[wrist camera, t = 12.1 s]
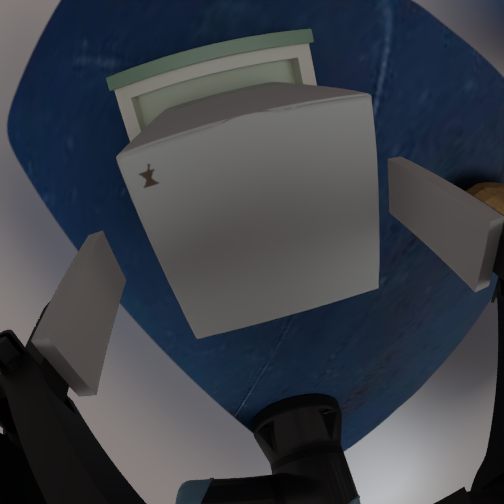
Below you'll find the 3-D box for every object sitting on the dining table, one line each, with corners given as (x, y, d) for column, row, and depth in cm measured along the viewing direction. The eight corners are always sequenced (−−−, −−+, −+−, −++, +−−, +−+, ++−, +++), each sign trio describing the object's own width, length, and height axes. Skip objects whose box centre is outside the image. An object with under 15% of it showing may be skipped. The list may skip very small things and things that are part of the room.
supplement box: (194, 210, 26) (190, 346, 14) (162, 108, 22) (104, 153, 9) (299, 183, 26) (382, 294, 14) (279, 79, 22) (376, 89, 9)
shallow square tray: (323, 200, 28) (339, 219, 25) (173, 238, 28) (170, 262, 25) (295, 35, 20) (311, 28, 17) (120, 77, 20) (106, 77, 17)
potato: (496, 229, 34) (533, 260, 27) (422, 256, 34) (460, 297, 27) (505, 163, 29) (550, 188, 22) (426, 180, 29) (476, 213, 22)
